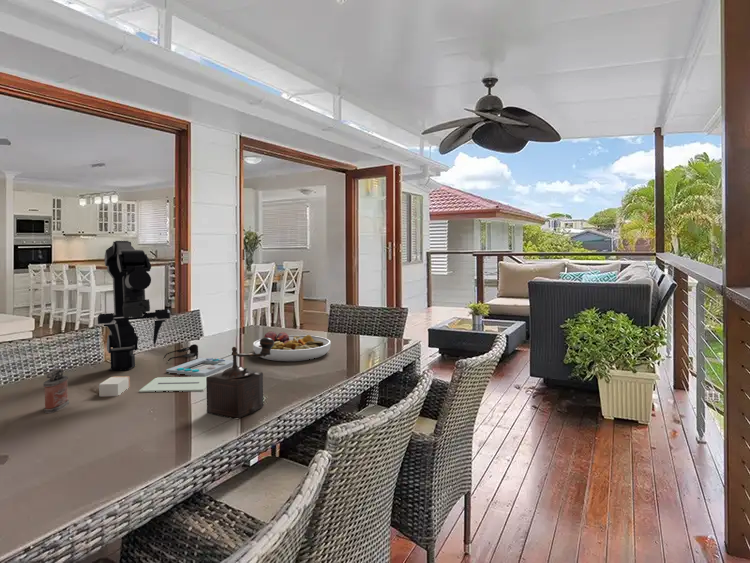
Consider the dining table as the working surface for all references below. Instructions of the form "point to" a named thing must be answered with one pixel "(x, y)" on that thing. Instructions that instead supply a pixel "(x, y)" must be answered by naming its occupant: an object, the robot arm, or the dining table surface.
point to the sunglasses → (192, 349)
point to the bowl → (294, 347)
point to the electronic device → (210, 370)
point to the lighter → (55, 391)
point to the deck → (114, 386)
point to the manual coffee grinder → (237, 387)
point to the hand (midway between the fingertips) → (137, 346)
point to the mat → (175, 384)
